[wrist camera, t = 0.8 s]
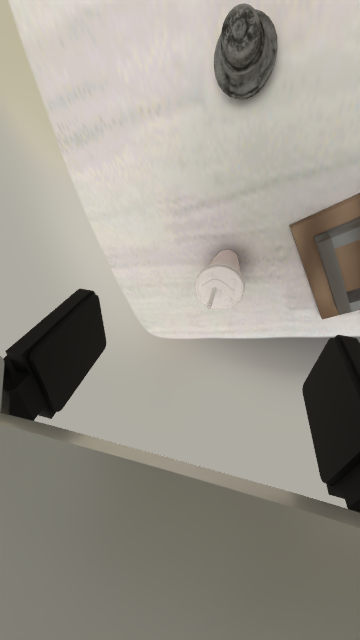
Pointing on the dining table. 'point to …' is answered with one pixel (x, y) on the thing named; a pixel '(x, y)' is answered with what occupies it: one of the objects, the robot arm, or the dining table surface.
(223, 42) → the chess piece
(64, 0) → the dining table surface
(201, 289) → the smoothie
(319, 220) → the socket block
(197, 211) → the dining table surface
